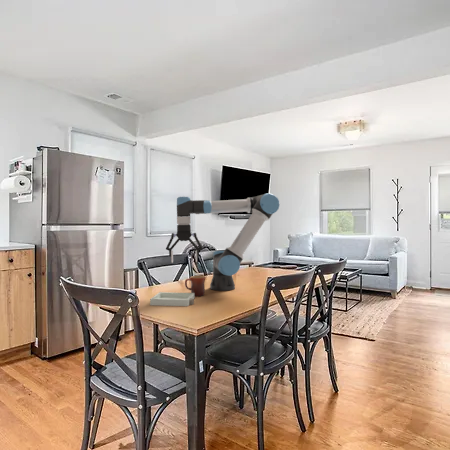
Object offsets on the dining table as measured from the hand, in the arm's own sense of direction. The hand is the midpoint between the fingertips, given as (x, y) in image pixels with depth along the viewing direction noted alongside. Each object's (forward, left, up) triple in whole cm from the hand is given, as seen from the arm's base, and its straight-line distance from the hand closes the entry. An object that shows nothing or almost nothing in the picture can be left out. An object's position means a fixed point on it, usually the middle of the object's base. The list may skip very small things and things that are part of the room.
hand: (184, 262), depth 200 cm
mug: (-6, +2, -18) cm, 20 cm away
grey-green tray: (+2, +18, -18) cm, 26 cm away
